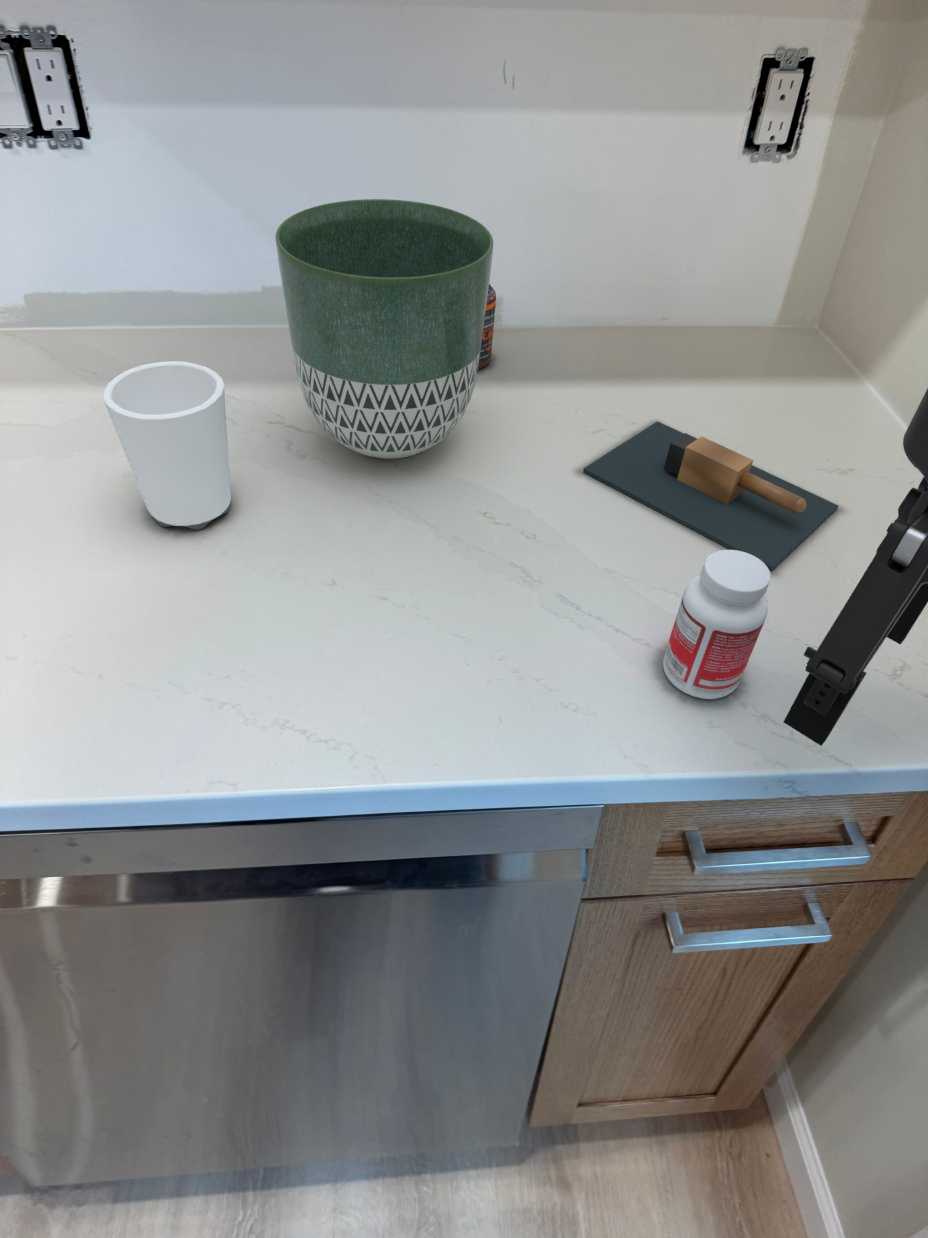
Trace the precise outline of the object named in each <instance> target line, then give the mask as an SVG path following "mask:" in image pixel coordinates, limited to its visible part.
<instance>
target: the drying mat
mask: <svg viewBox="0 0 928 1238" xmlns="http://www.w3.org/2000/svg"><path fill="white" fill-rule="evenodd" d="M684 433H685V432H684ZM684 433H683V432H682V431H679V430H677V429H675V428H673V427H671V426H669V425H666V424H664V423H662V422H660V421H659V420H657V421H655V422H654V423H652V424H651V425H650V426H647V427H646V428H644V429H643V430H641V431H639V432H638V433H637V434H635V435H633V436H632V437H631V438H629V439H627V440H626V441H624V442H623V443H621V444H619V445H618V446H617V447H615V448H613V449H612V450H610V451H608V452H607V453H605V454H603V455H602V456H600V457H599V458H597V459H596V460H594V461H593V462H591V463H590V464H588V465H586V466H585V467H583V470H582V472H583V473H584V474H585V475H588V476H590V477H592V478H593V479H596V480H597V481H599V482H601V483H603V484H605V485H607V486H609V487H610V488H613V489H614V490H616V491H618V492H621V493H622V494H624V495H625V496H628V497H630V498H632V499H634V500H635V501H637V502H639V503H641V504H643V505H645V506H646V507H649V508H651V509H653V510H654V511H656V512H658V513H660V514H662V515H663V516H666V517H668V518H670V519H672V520H673V521H675V522H677V523H679V524H681V525H683V526H685V527H686V528H689V529H690V530H692V531H694V532H696V533H698V534H700V535H702V536H703V537H705V538H708V539H709V540H711V541H713V542H715V543H717V544H718V545H721V546H723V547H725V548H726V549H727V550H737V551H742V552H745V553H748V554H751V555H753V556H755V557H757V558H758V559H760V560H761V561H762V562H763V563H764V564H765V565H766V566H767V567H768V569H769V571H770V572H772V571H773V570H775V569H776V568H777V567H778V566H779V565H780V564H781V563H783V561H784V560H786V559H787V557H788V556H790V554H792V553H793V552H794V551H795V550H796V549H797V548H798V547H799V546H800V545H801V544H802V543H803V542H804V541H805V540H806V539H807V538H808V537H810V536H811V535H812V534H813V533H814V532H815V531H817V529H818V528H819V527H820V526H821V525H822V524H823V523H824V522H826V520H828V518H829V517H831V516H832V515H833V514H834V513H835V512H836V511H837V510H838V508H839V505H838V504H836V503H834V502H832V501H830V500H828V499H825V498H823V497H821V496H819V495H817V494H815V493H812V492H811V491H808V490H806V489H804V488H803V487H800V486H798V485H795V484H794V483H791V482H789V481H786V480H784V479H783V478H780V477H778V476H776V475H774V474H772V473H770V472H768V471H765V470H763V469H762V468H759V467H757V466H754V465H753V464H752V466H751V469H750V472H749V473H751V474H753V475H755V476H757V477H759V478H761V479H764V480H766V481H768V482H770V483H772V484H774V485H776V486H778V487H781V488H783V489H785V490H787V491H789V492H791V493H793V494H795V495H797V496H800V497H802V498H803V499H804V500H805V501H806V508H805V510H804V511H803V512H801V513H793V512H791V511H789V510H787V509H785V508H782V507H780V506H778V505H776V504H774V503H772V502H770V501H768V500H766V499H764V498H762V497H760V496H758V495H756V494H754V493H751V492H749V491H747V490H745V489H743V492H742V494H740V495H739V496H738V497H737V498H735V499H734V500H733V501H732V502H730V503H729V504H728V505H727V504H725V503H723V502H721V501H719V500H717V499H715V498H713V497H711V496H709V495H707V494H704V493H702V492H700V491H698V490H696V489H694V488H692V487H690V486H688V485H686V484H684V483H682V482H680V481H678V480H677V478H678V476H677V475H675V474H673V473H671V472H669V471H667V470H665V469H664V466H665V462H666V458H667V455H668V451H669V447H670V443H671V442H672V441H674V440H675V439H677V438H678V437H680V436H681V435H683V434H684Z"/></svg>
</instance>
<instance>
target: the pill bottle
mask: <svg viewBox="0 0 928 1238" xmlns="http://www.w3.org/2000/svg"><path fill="white" fill-rule="evenodd" d="M770 581H771V571H770V570H769V569H768V567H767V566H766V565H765V564H764V563H763V562H762V561H761V560H760V559H758V558H757V557H755V556H753V555H751V554H748V553H745V552H742V551H737V550H730V549H721V550H717V551H715V552H713V553H710V554H709V555H708V556H707V558H705V561H704V563H703V566H702V569H701V571H700V573H699V574H698V575H696V576H694V577H693V578H692V579H690V581H689V582H688V583H687V585H686V586H685V589H684V591H683V594H682V597H681V601H680V603H679V607H678V609H677V613H676V616H675V619H674V622H673V626H672V628H671V633H670V637H669V639H668V642H667V645H666V648H665V649H666V650H665V652H664V656H663V661H662V663H663V665H662V666H663V671H664V674H665V676H666V677H667V679H668V680H669V681H670V683H671V684H672V685H673V686H674V687H676V689H678V690H680V691H681V692H683V693H685V694H686V695H689V696H691V697H694V698H699V699H703V700H717V699H720V698H723V697H726V696H728V695H731V693H733V692H734V691H735V690H736V689H737V687H738V686H739V684H740V682H741V680H742V678H743V675H744V673H745V670H746V668H747V665H748V663H749V660H750V658H751V656H752V653H753V650H754V648H755V646H756V644H757V642H758V639H759V636H760V633H761V631H762V629H763V626H764V624H765V622H766V619H767V616H768V614H769V602H768V600H767V596H766V593H767V591H768V588H769V584H770Z"/></svg>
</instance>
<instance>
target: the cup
mask: <svg viewBox="0 0 928 1238" xmlns="http://www.w3.org/2000/svg"><path fill="white" fill-rule="evenodd" d="M102 395H103V396H102V401H103V403H104V406H105V409H106V410H107V413H108V416H109V419H110V420H111V423H112V425H113V427H114V430H115V432H116V435H117V437H118V440H119V442H120V446H121V448H122V449H123V452H124V455H125V457H126V460H127V462H128V465H129V467H130V470H131V472H132V474H133V478H134V480H135V482H136V484H137V486H138V490H139V492H140V494H141V497H142V499H143V502H144V504H145V507H146V509H147V511H148V512H149V514H150V515H151V517H153V519H154V520H155V521H156V523H158V524H159V525H160V526H161V527H163V528H169V527H173V526H175V527H184V528H189V529H192V530H195V531H199V530H202V529H205V527H206V526H207V525H209V523H210V522H213V520H214V519H217V518H218V517H219V516H224V515H226V514H228V512H229V510H230V507H231V502H232V501H231V500H232V489H231V472H230V459H229V443H228V441H229V440H228V428H227V411H226V397H225V396H226V395H225V383H224V379H223V377H222V376H221V375H220V374H219V373H217V372H216V371H214V370H213V369H211V368H209V367H207V366H204V365H202V364H201V365H200V364H197V363H194V362H190V361H189V362H188V361H184V360H183V361H181V360H180V361H178V360H174V361H172V360H171V361H169V360H168V361H159V362H157V361H156V362H152V363H147V364H142V365H138V366H135V367H132V368H129V369H126V370H125V371H123V372H121V373H120V374H118V375H117V376H115V377H114V378H113V379H111V380H110V381H109V382H108V383H107V384H106V386H105V388H104V390H103V394H102Z"/></svg>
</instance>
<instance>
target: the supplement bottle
mask: <svg viewBox="0 0 928 1238" xmlns="http://www.w3.org/2000/svg"><path fill="white" fill-rule="evenodd" d="M490 281H491V280H490ZM490 281H489V288H488V296H487V303H486V312H485V320H484V329H483V336H482V343H481V351H480V358H479V366H478V370H480V369H482V368H484V367H486V366H487V365H489V363H490V362H491V357H492V351H493V338H494V328H495V327H494V326H495V314H496V303H497V292H496V290H495V289H494V287H493V286H492V285H491V284H490Z"/></svg>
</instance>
